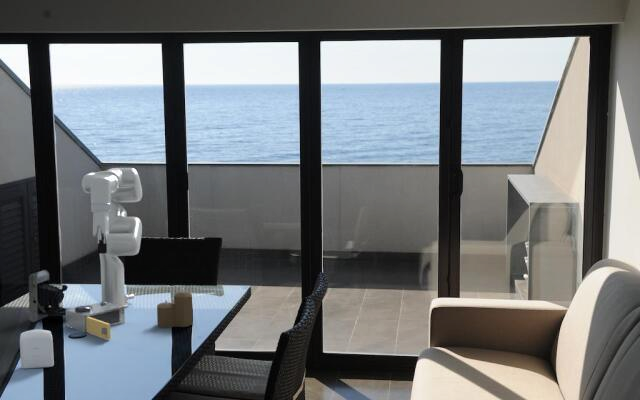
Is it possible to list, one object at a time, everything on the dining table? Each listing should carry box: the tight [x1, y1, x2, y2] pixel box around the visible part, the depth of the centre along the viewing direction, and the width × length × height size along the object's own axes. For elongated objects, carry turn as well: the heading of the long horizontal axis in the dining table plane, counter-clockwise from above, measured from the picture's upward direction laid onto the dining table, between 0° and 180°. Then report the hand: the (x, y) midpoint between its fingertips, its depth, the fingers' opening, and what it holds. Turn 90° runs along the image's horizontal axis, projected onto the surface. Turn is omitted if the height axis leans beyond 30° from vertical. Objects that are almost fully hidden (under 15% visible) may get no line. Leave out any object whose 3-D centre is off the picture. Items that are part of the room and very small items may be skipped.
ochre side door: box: [84, 315, 111, 341], centre depth 294 cm, size 16×2×7 cm, turn 46°
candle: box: [156, 286, 194, 329], centre depth 311 cm, size 14×14×15 cm
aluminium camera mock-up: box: [65, 301, 126, 333], centre depth 311 cm, size 18×13×8 cm
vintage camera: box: [28, 269, 69, 323], centre depth 317 cm, size 10×15×20 cm, turn 78°
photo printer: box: [19, 329, 55, 370], centre depth 259 cm, size 10×4×12 cm, turn 100°
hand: (102, 252), depth 316 cm, fingers closed
